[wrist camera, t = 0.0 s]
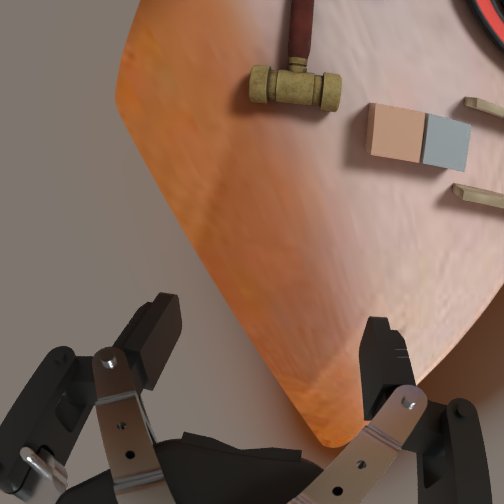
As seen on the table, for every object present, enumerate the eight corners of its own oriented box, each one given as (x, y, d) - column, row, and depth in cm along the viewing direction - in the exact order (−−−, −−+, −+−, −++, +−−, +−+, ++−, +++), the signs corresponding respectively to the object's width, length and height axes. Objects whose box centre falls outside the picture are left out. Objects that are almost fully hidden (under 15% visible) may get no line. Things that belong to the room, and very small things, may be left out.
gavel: (262, -54, 23) (349, -45, 22) (267, -38, 27) (345, -31, 26) (246, 100, 31) (339, 111, 30) (253, 102, 36) (334, 112, 34)
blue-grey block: (417, 111, 32) (428, 113, 29) (457, 121, 31) (471, 124, 28) (412, 156, 35) (422, 163, 31) (451, 164, 34) (464, 172, 31)
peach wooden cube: (369, 102, 33) (375, 103, 29) (414, 111, 32) (425, 113, 29) (364, 149, 36) (370, 155, 32) (409, 156, 35) (418, 163, 31)
